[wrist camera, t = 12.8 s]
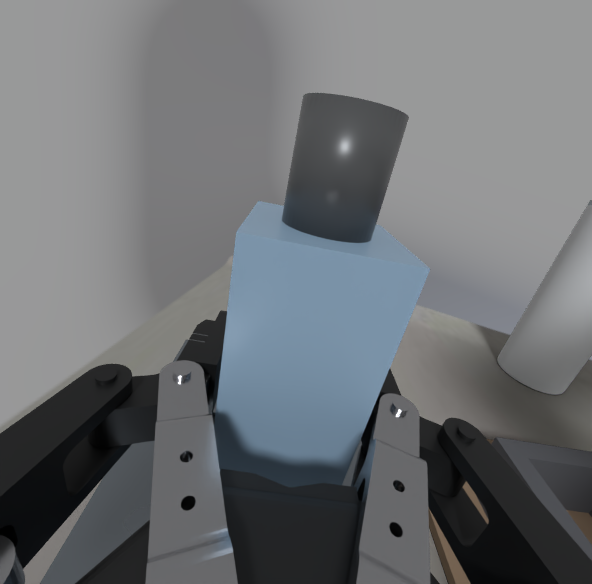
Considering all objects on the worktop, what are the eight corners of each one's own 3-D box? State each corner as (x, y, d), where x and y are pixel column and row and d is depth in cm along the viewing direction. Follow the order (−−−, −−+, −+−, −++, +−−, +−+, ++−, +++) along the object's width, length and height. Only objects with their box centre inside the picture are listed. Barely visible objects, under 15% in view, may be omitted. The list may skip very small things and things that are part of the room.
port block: (183, 388, 23) (186, 335, 21) (350, 414, 24) (367, 366, 22) (-99, 968, 7) (-210, 985, 5) (456, 980, 8) (563, 996, 6)
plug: (218, 488, 17) (272, 101, 9) (294, 497, 17) (409, 132, 10) (195, 591, 13) (255, 63, 5) (294, 600, 13) (491, 119, 6)
